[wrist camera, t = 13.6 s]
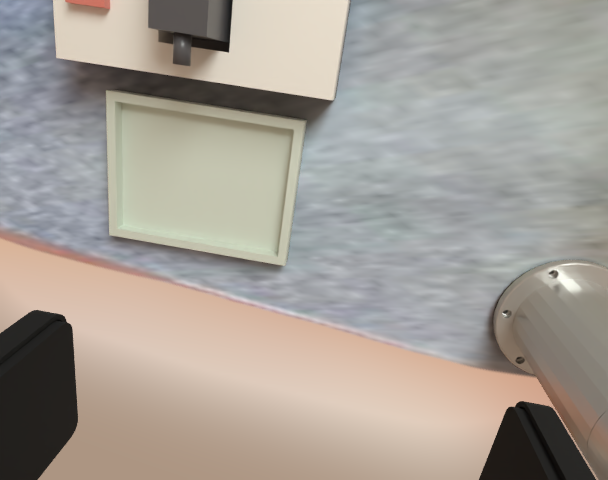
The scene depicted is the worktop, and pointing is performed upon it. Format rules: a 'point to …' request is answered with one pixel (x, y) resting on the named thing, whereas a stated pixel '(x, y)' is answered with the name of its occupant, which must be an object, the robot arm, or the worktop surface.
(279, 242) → the tray
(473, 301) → the worktop surface
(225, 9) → the plug
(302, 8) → the power strip
